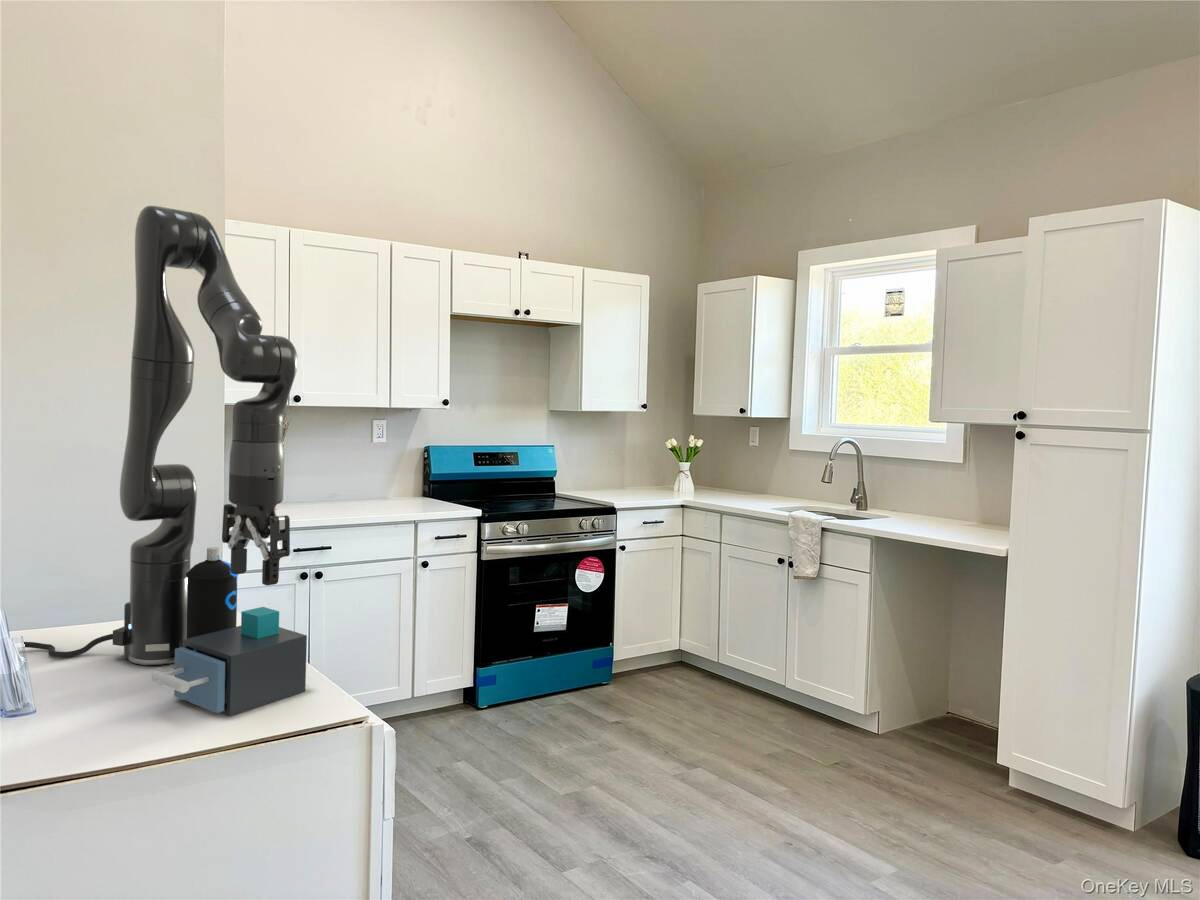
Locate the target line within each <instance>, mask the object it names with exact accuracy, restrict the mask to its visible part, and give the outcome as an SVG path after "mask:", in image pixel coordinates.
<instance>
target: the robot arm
mask: <svg viewBox="0 0 1200 900" xmlns="http://www.w3.org/2000/svg"><path fill="white" fill-rule="evenodd" d="M134 231H135V232H134V264H135V265H134V267H135V269H134V271H135V272H134V273H135V313H134V315H135V316H134V329H133V338H132V339H133V340H132V351H131V361H130V363H131V364H130V365H131V367H130V389H129V390H130V392H129V393H130V394H129V411H128V412H129V414H128V416H129V417H128V425H127V435H126V441H125V447H124V454H123V460H122V467H121V473H120V480H119V481H120V482H119V504H120V508H121V511H122V513H123V515H124V517H125V518H126V519H128V520H129V521H132V522H146V521H147V522H148V521H159V520H161V522H160V523H159V525H158V526H157V527H156V528H155V529H154V530H153V531H150V533H148V534H146V535H144V536H142V537H140V538H138V539H136V540H134V542H132V543H131V545H130V549H129V550H130V552H129V553H130V555H129V559H130V560H129V564H130V565H129V579H130V580H129V601H128V602H126V603H125V604H124V611H123V613H124V614H123V615H124V617H123V618H124V619H123V625H124V626H121V627H118V628H116V629H114V630H112V633H109V634H106V635H102V636H99V637H96V638H95V639H92V640H91V641H90V642H89V643H87V644H86V645H85V646H83V647H80V648H78V649H75V650H69V651H56V647H55V646H54V645H53V644H49V643H42V642H36V641H35V642H34V641H23V642H24V644H25V647H24V648H30V649H38V650H44V651H47V653H48V656H50V657H53V658H71V657H77V656H80V655H83V654H85V653H87V652H89V651H90V650H91V649H92V648H94V647H95V646H96V645H98V644H101V643H104V642H107V641H111V640H112V646H118V647H119V646H120V647H123V659H125V660H128V661H129V662H131V663H132V664H135V665H140V666H141V665H143V666H159V665H169V664H175V649H176V648H180V647H183V640H184V639H187V584H188V577H187V576H186V573H187V572H188V571H190V569H191V556H192V547H193V543H194V539H195V524H196V512H197V511H196V510H197V498H198V497H197V496H198V494H197V493H198V492H197V482H196V481H197V480H196V478H195V475H194V473H193V471H192V469H190V467H189V466H187V465H185V464H181V463H169V464H168V463H167V464H155V460H156V455H157V450H158V447H159V444H160V441H161V439H162V437H163V435H164V433H165V431H166V430H167V429H168V427H169V425H170V424H171V423H172V421H173V420H174V419H175V417H176V416H177V415H178V413H179V412H180V411H181V410H182V408H183V407H184V405H185V404H186V403H187V400H188V399H189V397H190V395H191V393H192V389H193V383H194V382H193V381H194V371H195V370H194V369H195V348H194V346H193V342H192V340H191V339H190V336H189V334H188V332H187V330H186V329H185V327H184V325H183V323H182V321H181V319H180V318H179V317H178V315H177V313H176V311H175V309H174V307H173V305H172V302H171V301H170V297H169V293H168V287H167V280H166V279H167V277H166V269H167V268H173V269H174V268H175V269H181V270H195V271H196V272H198V273H199V274H200V275H201V276H202V277H203V278H202V281H201V283H200V285H199V288H198V290H197V294H196V295H197V296H196V298H197V301H196V302H197V307H198V310H199V313H200V314H201V316H202V318H203V320H204V321H205V323H206V325H207V326H208V328H209V329H210V331H211V332H212V334H213V335H214V338H215V339H214V340H215V343H216V347H217V352H218V359H219V365H220V368H221V370H222V372H223V373H224V374H225V375H226V377H228V378H229V379H231V380H233V381H235V382H238V383H247V384H250V383H251V384H262V386H261V388H260V390H259V392H258V393H257V395H256V396H253V397H249V398H245V399H241V400H238V401H236V402H235V403H234V405H233V408H232V420H231V422H232V423H231V444H230V445H231V446H230V451H229V466H228V468H229V470H228V501H229V502H230V503H228V504H224V505H223V510H222V512H223V513H222V528H221V529H222V530H221V531H222V532H221V541H222V544H227V548H228V549H229V550H230V564H231V573H233V574H239V575H240V574H241V575H242V574H245V573H246V572H247V569H248V568H247V567H248V566H247V564H248V548H247V546H248V544H249V543H250V541H253V542H254V545H255V547H256V548H259V550H260V552H261V553H260V554H261V556H262V558H263V559H262V567H261V568H262V570H261V572H262V573H261V583H262V585H264V586H266V587H267V586H274V585H277V584H278V583H279V579H280V575H279V574H280V560H281V559H282V558H284V557H285V558H286V557H289V556H290V554H291V536H290V535H291V533H290V532H291V529H290V527H291V526H290V525H291V524H290V523H291V522H290V521H291V519H290V516H289V515H277V512H276V511H277V510H276V506H277V505H278V504H281V503H282V502H283V501H284V485H285V483H284V481H285V480H284V479H285V450H284V417H285V411H286V407H287V405H288V401H289V398H290V393H291V390H292V387H293V385H294V381H295V378H296V376H297V375H296V374H297V371H298V365H299V359H298V358H299V356H298V353H297V350H296V347H295V346H294V343H293V342H292V341H291V340H290V339H288V338H287V337H285V336H281V335H267V334H262V332H263V322H262V319H261V316H260V315H259V313H258V311H257V310H256V308H255V307H254V306H253V304H252V303H251V302H250V300H249V298H248V297H247V295H246V294H245V292H243V290H242V288H241V286H240V285H239V283H238V281H237V279H236V277H235V275H234V272H233V269H232V267H231V265H230V262H229V259H228V257H227V254H226V252H225V249H224V247H223V245H222V242H221V240H220V238H219V235H218V233H217V230H216V229H215V228H214V226H213V224H212V222H211V221H210V220H209V219H208V218H207V217H206V216H204V215H203V214H202V215H201V214H200V213H197V212H192V211H186V210H181V209H175V208H170V207H164V206H158V205H146V206H145V207H143V208H142V209H141V211H139V214H138V217H137V219H136V225H135V230H134ZM230 528H232V529H230ZM230 530H231V531H230ZM280 541H281V545H280Z"/></svg>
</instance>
